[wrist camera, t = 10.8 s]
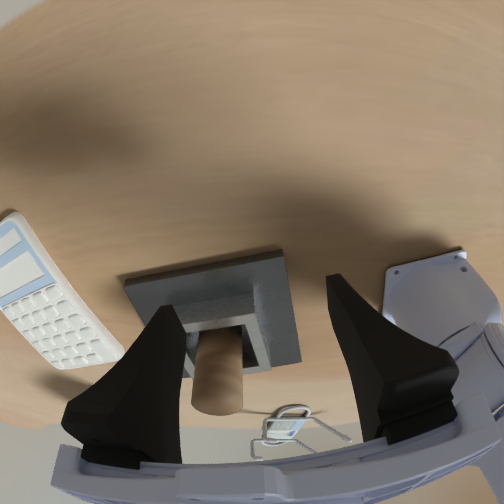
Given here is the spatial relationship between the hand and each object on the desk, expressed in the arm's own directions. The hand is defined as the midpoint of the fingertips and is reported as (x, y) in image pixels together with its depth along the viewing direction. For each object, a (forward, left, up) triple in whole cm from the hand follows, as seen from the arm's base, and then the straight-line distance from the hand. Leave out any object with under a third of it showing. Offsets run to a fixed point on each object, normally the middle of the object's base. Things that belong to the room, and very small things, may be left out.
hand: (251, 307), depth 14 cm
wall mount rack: (0, +38, -11) cm, 39 cm away
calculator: (+25, +5, -11) cm, 28 cm away
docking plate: (+5, +11, -10) cm, 16 cm away
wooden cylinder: (+5, +11, -9) cm, 15 cm away
